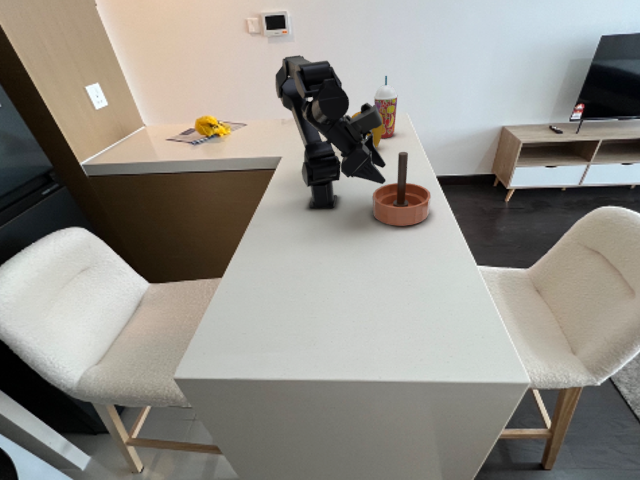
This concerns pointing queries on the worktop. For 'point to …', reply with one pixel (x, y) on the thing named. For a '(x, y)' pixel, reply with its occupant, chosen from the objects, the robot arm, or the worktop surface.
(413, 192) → the bowl
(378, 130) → the apple
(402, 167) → the stick
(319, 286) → the worktop surface
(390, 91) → the smoothie
